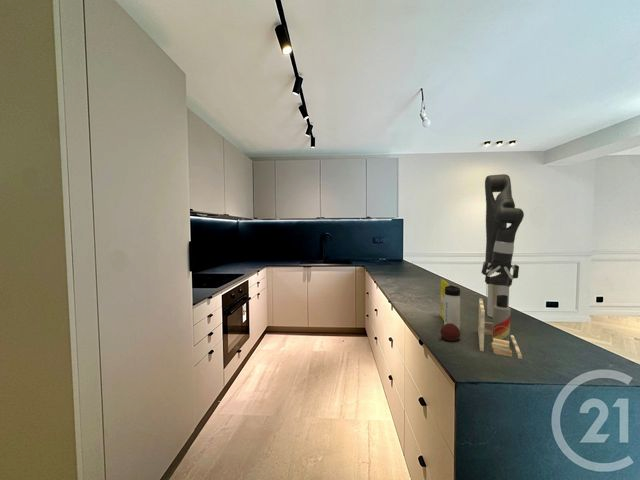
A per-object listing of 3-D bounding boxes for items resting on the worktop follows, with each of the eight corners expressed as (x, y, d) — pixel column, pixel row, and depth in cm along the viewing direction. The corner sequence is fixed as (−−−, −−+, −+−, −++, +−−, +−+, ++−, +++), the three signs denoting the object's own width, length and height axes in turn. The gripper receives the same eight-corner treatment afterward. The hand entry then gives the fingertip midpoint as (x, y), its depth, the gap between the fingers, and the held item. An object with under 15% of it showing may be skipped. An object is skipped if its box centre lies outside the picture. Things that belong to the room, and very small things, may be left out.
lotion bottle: (504, 348, 103) (505, 297, 102) (489, 342, 108) (490, 294, 107) (512, 345, 106) (514, 295, 105) (497, 340, 111) (498, 292, 110)
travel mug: (458, 328, 123) (459, 285, 122) (460, 334, 117) (461, 289, 116) (443, 327, 125) (444, 284, 124) (444, 332, 119) (445, 288, 118)
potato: (437, 341, 110) (437, 324, 109) (443, 335, 116) (444, 319, 116) (456, 346, 105) (457, 329, 104) (462, 339, 111) (462, 323, 111)
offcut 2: (491, 346, 103) (491, 342, 103) (507, 349, 101) (508, 344, 100) (494, 354, 97) (494, 349, 97) (512, 357, 95) (512, 352, 95)
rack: (478, 334, 117) (479, 298, 116) (513, 340, 110) (514, 302, 110) (479, 353, 99) (481, 310, 99) (521, 361, 93) (523, 316, 93)
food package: (449, 326, 126) (450, 284, 125) (446, 326, 126) (447, 284, 125) (441, 315, 141) (442, 278, 140) (439, 315, 141) (439, 278, 140)
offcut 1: (493, 342, 103) (493, 338, 103) (509, 345, 100) (509, 341, 100) (492, 348, 98) (492, 343, 98) (509, 351, 95) (509, 346, 95)
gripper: (517, 251, 125) (511, 284, 127) (483, 248, 128) (478, 280, 131) (524, 254, 118) (518, 289, 120) (488, 251, 121) (483, 285, 124)
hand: (497, 285), depth 126 cm, fingers open, 8 cm apart
